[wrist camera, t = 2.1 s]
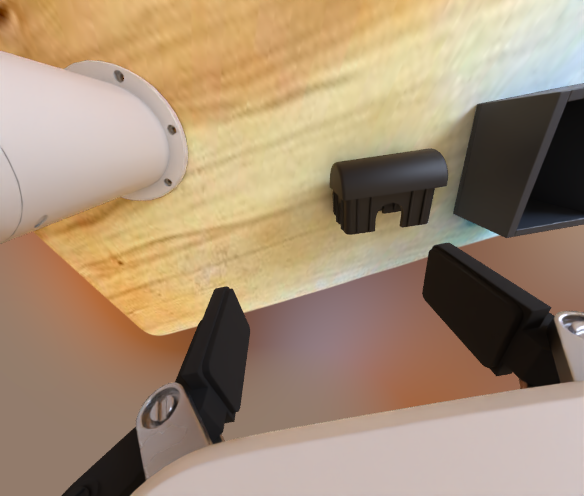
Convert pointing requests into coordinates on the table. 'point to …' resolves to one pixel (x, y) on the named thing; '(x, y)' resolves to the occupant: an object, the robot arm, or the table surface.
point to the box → (526, 163)
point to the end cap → (386, 188)
